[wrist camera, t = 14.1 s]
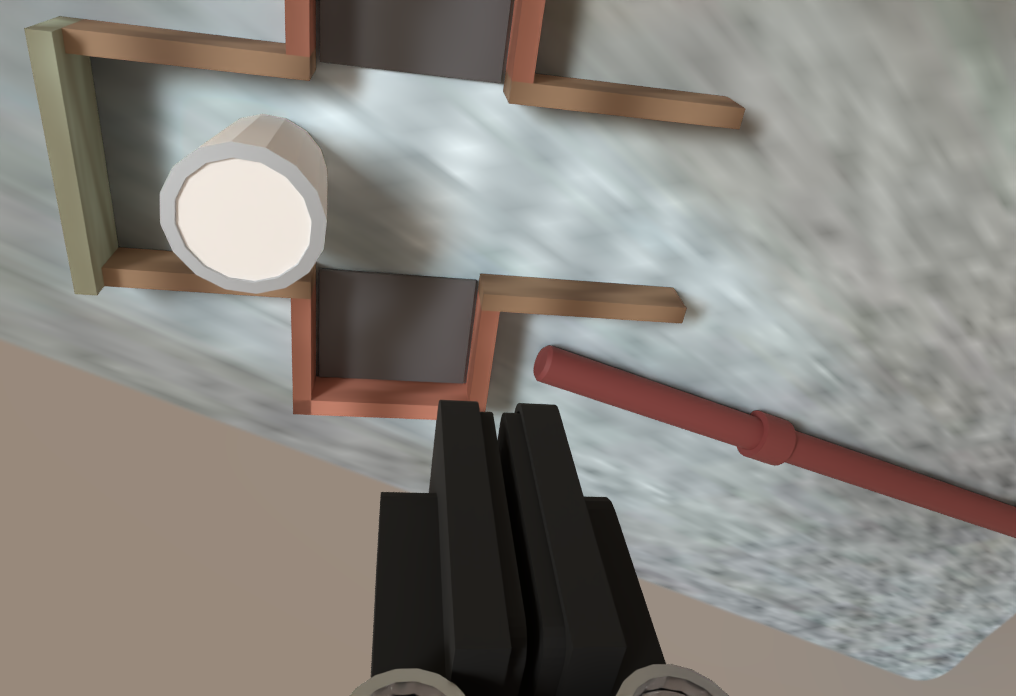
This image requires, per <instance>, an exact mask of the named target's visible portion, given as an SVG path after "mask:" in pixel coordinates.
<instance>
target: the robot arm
mask: <svg viewBox="0 0 1016 696" xmlns="http://www.w3.org/2000/svg"><path fill="white" fill-rule="evenodd" d="M377 551H378V552H377V567H376V586H375V605H374V606H375V607H374V625H373V646H372V664H371V678H370V679H369V680H367V681H366V682H365V683H363V684H361V685H360V686H359V687H357V688H356V689H355V690H354V691H353V692H352V694H351V695H350V696H729V695H728V694H727V693H725V692H724V691H723V690H722V689H721V688H720V687H719V686H718V685H716V684H715V683H714V682H713V681H712V680H710V679H709V678H707V677H705V676H703V675H701V674H699V673H697V672H695V671H694V670H692V669H688V668H684V667H681V666H677V665H673V664H666V663H665V660H664V657H663V654H662V651H661V647H660V644H659V642H658V638H657V635H656V632H655V629H654V627H653V623H652V621H651V617H650V614H649V611H648V608H647V605H646V602H645V599H644V596H643V593H642V590H641V587H640V584H639V581H638V578H637V575H636V572H635V569H634V566H633V563H632V560H631V557H630V554H629V551H628V548H627V545H626V542H625V539H624V536H623V533H622V530H621V527H620V524H619V521H618V518H617V515H616V512H615V509H614V507H613V505H612V502H611V501H610V500H609V499H608V498H607V497H584V496H583V493H582V489H581V486H580V482H579V479H578V475H577V472H576V468H575V465H574V461H573V458H572V454H571V451H570V448H569V444H568V441H567V437H566V434H565V430H564V427H563V423H562V420H561V416H560V413H559V410H558V407H557V406H556V405H549V404H527V403H518V404H517V406H516V409H515V413H503V414H502V417H501V422H500V428H499V434H498V440H497V435H496V429H495V423H494V417H493V413H492V412H480V408H479V403H478V402H477V401H458V400H439V404H438V411H437V420H436V430H435V439H434V449H433V458H432V468H431V477H430V487H429V493H400V492H398V493H397V492H381V500H380V515H379V532H378V550H377Z"/></svg>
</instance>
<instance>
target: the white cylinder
mask: <svg viewBox="0 0 1016 696" xmlns="http://www.w3.org/2000/svg"><path fill="white" fill-rule="evenodd" d="M327 172H328V170H327V167H326V164H325V160H324V157H323V154H322V151H321V149H320V147H319V146H318V145H317V143H316V142H315V141H314V140H313V138H312V137H311V136H310V135H309V133H308V132H307V131H306V130H304V129H303V128H301V127H299V126H298V125H296V124H294V123H293V122H291V121H290V120H288V119H286V118H282V117H277V116H272V115H267V114H259V115H253V116H248V117H243V118H240V119H238V120H237V121H235V122H234V123H233V124H231V125H230V126H228V127H227V128H226V129H224V130H223V131H221V132H220V133H218V134H217V135H216V136H214V137H213V138H211V139H210V140H209V141H207V142H206V143H204V144H203V145H202V146H200V147H199V148H197V149H196V150H195V151H193V152H192V153H190V154H189V155H188V156H186V157H185V158H184V159H182V160H181V161H179V162H178V163H177V164H175V165H174V166H173V167H172V169H171V171H170V173H169V175H168V177H167V179H166V181H165V183H164V185H163V187H162V189H161V191H160V224H161V226H162V229H163V231H164V233H165V235H166V237H167V240H168V242H169V244H170V246H171V248H172V251H173V252H174V253H175V254H176V255H177V256H178V257H179V258H180V259H181V260H182V261H183V262H184V263H185V264H186V265H187V266H188V267H189V268H190V269H191V270H192V271H193V272H194V273H195V274H196V275H197V276H200V277H202V278H204V279H206V280H208V281H210V282H212V283H214V284H216V285H218V286H220V287H222V288H224V289H226V290H233V291H240V292H247V293H254V294H258V293H263V292H268V291H273V290H278V289H283V288H286V287H288V286H289V285H291V284H293V283H294V282H296V281H297V280H299V279H300V278H302V277H303V276H305V275H306V274H308V273H309V272H310V270H311V269H312V267H313V266H314V264H315V262H316V261H317V259H318V258H319V256H320V254H321V253H322V251H323V250H324V242H325V233H326V224H327Z"/></svg>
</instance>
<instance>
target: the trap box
mask: <svg viewBox="0 0 1016 696" xmlns="http://www.w3.org/2000/svg"><path fill="white" fill-rule="evenodd" d="M510 4H511V0H320V62H325V63H333V64H342V65H350V66H359V67H367V68H376V69H384V70H393V71H401V72H410V73H418V74H427V75H435V76H444V77H452V78H461V79H470V80H478V81H487V82H495V83H501V76H502V68H503V60H504V52H505V44H506V36H507V28H508V20H509V12H510ZM544 6H545V0H515V2H514V10H513V17H512V25H511V33H510V41H509V49H508V57H507V65H506V73H505V81H504V88H503V92H504V94H505V96H506V98H507V100H508V102H509V103H510V104H519V105H528V106H537V107H546V108H555V109H563V110H572V111H581V112H590V113H599V114H608V115H617V116H625V117H634V118H643V119H652V120H661V121H670V122H679V123H688V124H696V125H705V126H714V127H723V128H732V129H740V126H741V122H742V119H743V115H744V112H745V108H744V107H742V106H741V105H739V104H737V103H736V102H734V101H733V100H731V99H730V98H728V97H726V96H718V95H709V94H701V93H693V92H685V91H676V90H668V89H660V88H651V87H643V86H635V85H626V84H618V83H610V82H602V81H593V80H585V79H577V78H568V77H560V76H552V75H543V74H535V68H536V61H537V54H538V47H539V41H540V34H541V27H542V20H543V13H544ZM24 30H25V35H26V40H27V46H28V51H29V56H30V61H31V66H32V72H33V77H34V82H35V87H36V93H37V98H38V103H39V108H40V114H41V119H42V124H43V129H44V135H45V140H46V145H47V150H48V156H49V161H50V166H51V171H52V177H53V182H54V187H55V192H56V198H57V203H58V208H59V213H60V219H61V224H62V229H63V234H64V239H65V245H66V250H67V255H68V260H69V266H70V271H71V276H72V281H73V287H74V292H75V294H83V295H98V294H99V292H100V291H101V290H102V288H103V287H104V286H111V287H127V288H142V289H158V290H173V291H189V292H204V293H219V294H235V295H250V296H266V297H281V298H291V328H292V377H293V414H303V415H329V416H354V417H380V418H405V419H431V420H437V411H438V404H439V400H458V401H477V402H478V403H479V408H480V412H485V410H486V403H487V396H488V389H489V382H490V375H491V369H492V362H493V355H494V348H495V341H496V334H497V328H498V321H499V314H500V312H513V313H529V314H544V315H560V316H575V317H591V318H606V319H621V320H637V321H652V322H668V323H682V322H683V319H684V315H685V312H686V309H687V308H686V306H685V305H684V303H683V302H682V300H681V299H680V297H679V296H678V294H677V293H676V291H675V290H674V288H670V287H657V286H643V285H629V284H616V283H602V282H588V281H575V280H561V279H547V278H533V277H520V276H506V275H492V274H480V278H479V286H478V294H477V302H476V309H475V317H474V325H473V333H472V341H471V349H470V357H469V365H468V373H467V380H466V383H463V382H464V374H465V366H466V358H467V350H468V342H469V334H470V326H471V318H472V309H473V301H474V293H475V285H476V280H473V279H459V278H445V277H431V276H417V275H403V274H389V273H375V272H361V271H347V270H333V269H319V376H316V262H315V264H314V266H313V267H312V269H311V270H310V272H309V273H308V274H306V275H305V276H303V277H302V278H300V279H299V280H297V281H296V282H294V283H293V284H291V285H289V286H288V287H286V288H283V289H278V290H273V291H268V292H263V293H258V294H254V293H247V292H240V291H233V290H226V289H224V288H222V287H220V286H218V285H216V284H214V283H212V282H210V281H208V280H206V279H204V278H202V277H200V276H197V275H196V274H195V273H194V272H193V271H192V270H191V269H190V268H189V267H188V266H187V265H186V264H185V263H184V262H183V261H182V260H181V259H180V258H179V257H178V256H177V255H176V254H175V253H174V252H173V251H164V250H150V249H137V248H123V247H118V240H117V234H116V227H115V220H114V214H113V207H112V200H111V194H110V187H109V181H108V174H107V167H106V161H105V154H104V147H103V141H102V134H101V127H100V121H99V114H98V108H97V101H96V94H95V88H94V81H93V74H92V68H91V61H90V56H94V57H103V58H111V59H120V60H129V61H138V62H147V63H156V64H165V65H174V66H182V67H191V68H200V69H209V70H218V71H227V72H236V73H244V74H253V75H262V76H271V77H280V78H289V79H298V80H306V81H310V79H311V77H312V76H313V74H314V72H315V70H316V0H285V35H286V43H278V42H269V41H261V40H253V39H245V38H236V37H228V36H220V35H211V34H203V33H195V32H186V31H178V30H170V29H161V28H153V27H145V26H137V25H128V24H120V23H112V22H103V21H95V20H87V19H78V18H70V17H62V16H59V17H56V18H53V19H50V20H47V21H45V22H42V23H39V24H36V25H33V26H30V27H27V28H24Z"/></svg>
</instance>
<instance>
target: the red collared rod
mask: <svg viewBox="0 0 1016 696" xmlns="http://www.w3.org/2000/svg"><path fill="white" fill-rule="evenodd" d="M534 376H535V378H536V380H537V381H539V382H542V383H545V384H548V385H551V386H554V387H558V388H561V389H564V390H567V391H570V392H573V393H576V394H579V395H582V396H585V397H588V398H591V399H594V400H597V401H600V402H603V403H606V404H609V405H612V406H615V407H618V408H621V409H624V410H628V411H631V412H634V413H637V414H640V415H643V416H646V417H649V418H652V419H655V420H658V421H661V422H664V423H667V424H670V425H673V426H676V427H679V428H682V429H685V430H688V431H691V432H694V433H698V434H701V435H704V436H707V437H710V438H713V439H716V440H719V441H722V442H725V443H728V444H731V445H734V446H737V449H738V451H739V452H740V454H742V455H743V456H746V457H749V458H752V459H755V460H758V461H761V462H764V463H767V464H770V465H780V464H782V463H784V462H786V463H789V464H792V465H795V466H798V467H801V468H804V469H807V470H810V471H813V472H816V473H819V474H822V475H825V476H828V477H831V478H834V479H838V480H841V481H844V482H847V483H850V484H853V485H856V486H859V487H862V488H865V489H868V490H871V491H874V492H877V493H880V494H883V495H886V496H889V497H892V498H895V499H898V500H901V501H905V502H908V503H911V504H914V505H917V506H920V507H923V508H926V509H929V510H932V511H935V512H938V513H941V514H944V515H947V516H950V517H953V518H956V519H959V520H962V521H965V522H968V523H971V524H975V525H978V526H981V527H984V528H987V529H990V530H993V531H996V532H999V533H1002V534H1005V535H1008V536H1011V537H1014V538H1016V507H1014V506H1011V505H1008V504H1005V503H1002V502H999V501H997V500H994V499H991V498H988V497H985V496H982V495H979V494H976V493H974V492H971V491H968V490H965V489H962V488H959V487H956V486H953V485H951V484H948V483H945V482H942V481H939V480H936V479H933V478H930V477H928V476H925V475H922V474H919V473H916V472H913V471H910V470H907V469H905V468H902V467H899V466H896V465H893V464H890V463H887V462H884V461H882V460H879V459H876V458H873V457H870V456H867V455H864V454H861V453H859V452H856V451H853V450H850V449H847V448H844V447H841V446H838V445H836V444H833V443H830V442H827V441H824V440H821V439H818V438H815V437H813V436H810V435H807V434H804V433H801V432H798V431H795V429H794V427H793V425H792V424H791V423H790V422H789V421H787V420H784V419H781V418H778V417H776V416H773V415H770V414H767V413H764V412H761V411H757V410H756V411H752V413H751V414H750V415H749V414H746V413H743V412H741V411H738V410H735V409H732V408H729V407H726V406H723V405H720V404H718V403H715V402H712V401H709V400H706V399H703V398H700V397H697V396H695V395H692V394H689V393H686V392H683V391H680V390H677V389H674V388H672V387H669V386H666V385H663V384H660V383H657V382H654V381H651V380H649V379H646V378H643V377H640V376H637V375H634V374H631V373H628V372H626V371H623V370H620V369H617V368H614V367H611V366H608V365H605V364H603V363H600V362H597V361H594V360H591V359H588V358H585V357H582V356H580V355H577V354H574V353H571V352H568V351H565V350H562V349H559V348H557V347H554V346H551V345H548V346H546V347H544V348H543V349H541V350H540V352H539V353H538V355H537V358H536V360H535V364H534Z"/></svg>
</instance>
